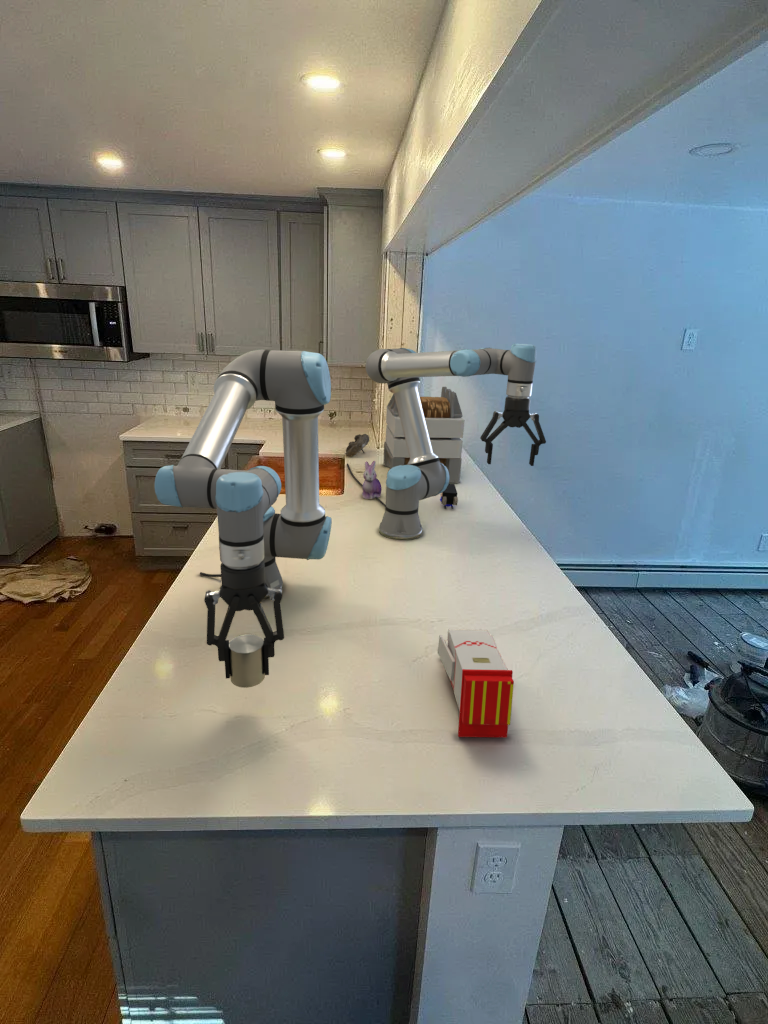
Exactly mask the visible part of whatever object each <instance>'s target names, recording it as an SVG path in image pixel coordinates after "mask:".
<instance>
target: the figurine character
mask: <svg viewBox="0 0 768 1024" xmlns="http://www.w3.org/2000/svg"><path fill="white" fill-rule="evenodd" d="M439 495H440V496H439V497H440V498H439V501H440V503H441V505H442V506H443V508H444V509H445V510H447V508H448V507H450V508H451V510H454V506H458V501H459V497H458V491H457V487H456V485H455V483H449V484H448V486H447V488H446V489H445V490H444V491H443V492H442V493H440V494H439Z"/></svg>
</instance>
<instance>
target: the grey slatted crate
mask: <svg viewBox="0 0 768 1024" xmlns="http://www.w3.org/2000/svg"><path fill="white" fill-rule="evenodd" d="M440 393H441V394H440V396H419V397H420V401H421V405H422V410H423V414H424V418H425V422H426V426H427V430H428V434H429V438H430V442H431V447H432V451H433V453H434V454H435V455H437V456H438V457H439V461H440V463H442V464H444V466H446V468H447V469H448V472H449V484H455V483H456V484H459V483H461V472H462V461H463V460H462V453H463V442H464V441H463V440H462V439H463V438H464V431H465V430H464V429H465V419H464V418H463V411H462V408H461V405H460V402H459V398H458V395H457V392H455V391H453V390H452V389H451V388H447V386H442V387H441V392H440ZM385 414H386V415H385V423H386V428H385V438H384V442H383V466H384V467H388V468H389V470H390V469H391V468H393V467H395V466H399V465H402V466H403V465H407V464H408V462H409V460H410V456H409V452H408V448H407V444H406V440H405V436H404V432H403V428H402V424H401V420H400V416H399V412H398V408H397V404H396V400H395V396H394V394H393V393H392V395H391V398H390V400H389V402H388V404H387V405H386V413H385Z"/></svg>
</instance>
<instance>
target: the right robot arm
mask: <svg viewBox="0 0 768 1024" xmlns="http://www.w3.org/2000/svg"><path fill="white" fill-rule="evenodd" d="M536 363H537V346H536V345H534V344H528V343H513V344H511V348H510V349H501V348H493V347H480V348H478V349H477V348H476V349H473V348H472V349H471V348H470V349H469V348H467V349H466V348H464V349H459V350H441V351H440V350H439V351H425V352H422V351H421V352H416V351H415V350H414V349H411V348H407V347H406V348H405V347H399V348H380V349H379V348H378V349H376V350H374V351H373V352H371V353H370V354H369V355H368V357H367V359H366V361H365V371H366V374H367V377H369V379H370V380H371V381H372V382H374V383H377V384H387V389H388V391H389V392H390V393H392V395H393V394H394V396H395V400H396V404H397V408H398V412H399V416H400V420H401V424H402V428H403V432H404V436H405V440H406V444H407V448H408V452H409V456H410V460H409V462H408V464H407V465H403V466H402V465H399V466H395V467H393V468H391V469H390V468H389V470H388V472H387V474H386V479H385V503H384V502H383V501H382V500H381V499H380V497H378V498H377V497H375V498H374V499H375V500H376V501H378V503H380V504H381V505H382V506H383V507H384V508H385V509H384V513H383V515H382V519H381V522H379V525H378V533H379V534H380V535H381V536H382V537H385V538H387V539H389V540H395V541H410V540H415V539H418V538H420V537H421V536H422V535H423V525H422V524H421V518H420V515H419V507H420V506H419V505H420V501H423V500H425V499H429V498H431V497H436V496H438V495H440V494H441V493H442V492H443V491H444V490H445V489H446V488H447V486H448V484H450V483H449V472H448V469H447V468H446V466H444V464H442V463H440V461H439V457H438V456H437V455H435V454H434V453H433V451H432V447H431V442H430V438H429V434H428V430H427V426H426V422H425V418H424V414H423V410H422V405H421V401H420V397H421V396H420V393H419V390H418V387H419V386H420V384H421V380H420V378H431V377H432V378H433V377H435V378H437V377H462V378H466V377H467V378H468V377H472V376H481V375H483V376H484V375H502V376H507V382H506V392H505V395H506V397H505V398H504V399H505V400H504V409H503V411H502V412H499V411H497V410H495V411H493V413H492V417H491V419H490V421H489V422H488V424H487V425H486V427H485V429H484V431H483V432H482V434H481V435H480V437H479V439H480V441H481V442H484V443H485V445H484V446H485V447H484V452H485V454H487V458H486V463H487V465H492V457H493V449H494V443H493V441H494V440H495V439H496V438H497V437H498V436H499V435H500V434H501V433H503V431H504V430H505V429H507V428H508V427H509V428H523V429H524V430H525V432H526V433H527V434H528V436H529V437H530V439H531V441H532V442H533V443H531V446H530V454H529V459H528V461H529V462H528V464H529V466H530V467H534V466H535V458H536V456H538V455H539V451H540V447H541V446H542V445H545V444H546V443H547V440H546V437H545V433H544V432H543V431H544V430H543V429H542V425H541V423H540V415H539V413H537V412H533V413H530V407H531V396H532V392H533V384H534V383H533V382H534V375H535V367H536ZM501 418H502V419H503V421H502V422H501V423H500V424H499V425H498V426H497V427H496V428H495V429H494V427H495V425H496V424H497V422H498V420H500V419H501ZM529 420H531V421H532V422H533V425H534V427H535V430H536V433H537V436H538V438H537V436H536V435H535V434H534V432H533V431H532V429H531V428H530V426H529V424H528V423H527V422H528V421H529ZM493 429H494V430H493ZM492 430H493V432H492ZM491 432H492V433H491ZM346 466H347V470H348V471H349V473H350V475H351V476H352V478H353V479H354V480H355V481H356V483H358V485H359V486H361V487H362V488H363V483H361V482H360V481H359V479H358V478H357V477H356V476H355V474H354V473H353V472H352V469H351V467H350V465H349V463H348V462H347V463H346Z"/></svg>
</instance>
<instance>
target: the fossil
mask: <svg viewBox="0 0 768 1024" xmlns="http://www.w3.org/2000/svg"><path fill="white" fill-rule="evenodd" d="M369 443H370V436H369V434H367V433H363V434H361V433H360V434H356V435H355V436H354V441H349V442H348V445H347V447H346V449H345V455H346V457H348V458H351V457H354V456H356V455H357V454H359V453H361V452H362V454H365V451H364V448H365V447H366V446H368V444H369Z"/></svg>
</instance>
